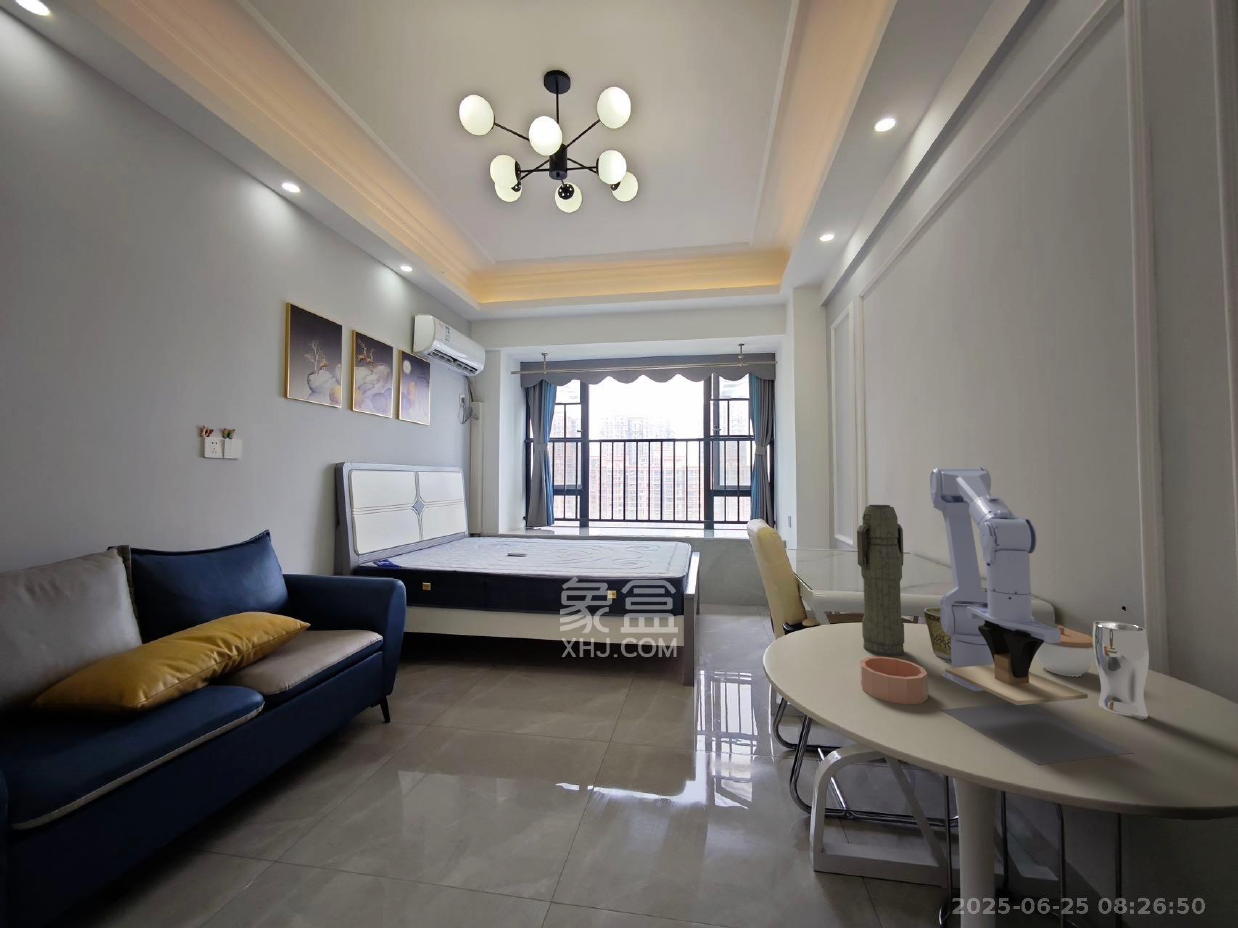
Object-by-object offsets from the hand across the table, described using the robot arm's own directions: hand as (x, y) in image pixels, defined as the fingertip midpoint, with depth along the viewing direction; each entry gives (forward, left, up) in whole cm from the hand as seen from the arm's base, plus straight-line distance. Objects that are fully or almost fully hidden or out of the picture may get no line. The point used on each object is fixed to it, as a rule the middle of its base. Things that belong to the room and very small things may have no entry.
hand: (1011, 673), depth 81 cm
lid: (0, 0, -2) cm, 2 cm away
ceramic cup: (-19, -31, -9) cm, 38 cm away
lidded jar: (-33, -18, -9) cm, 39 cm away
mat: (-1, +2, -9) cm, 9 cm away
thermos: (-5, -37, -9) cm, 39 cm away
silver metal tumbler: (-24, -1, -9) cm, 26 cm away
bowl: (+10, -15, -9) cm, 20 cm away
